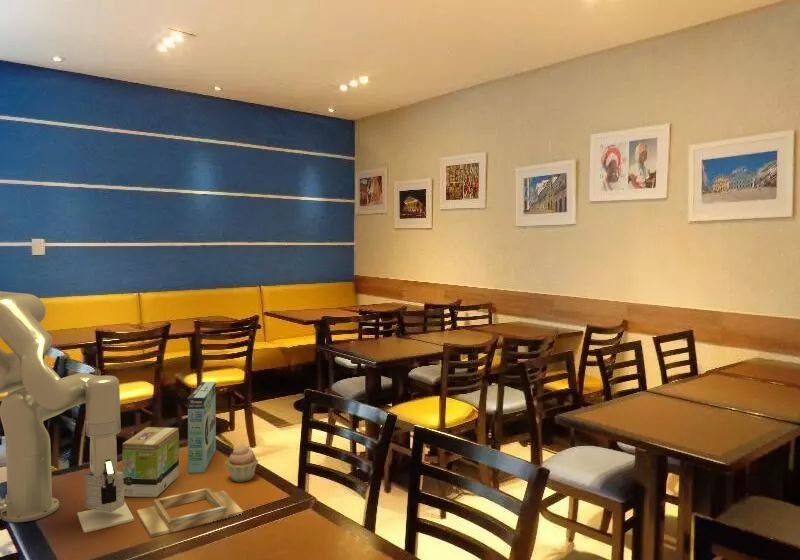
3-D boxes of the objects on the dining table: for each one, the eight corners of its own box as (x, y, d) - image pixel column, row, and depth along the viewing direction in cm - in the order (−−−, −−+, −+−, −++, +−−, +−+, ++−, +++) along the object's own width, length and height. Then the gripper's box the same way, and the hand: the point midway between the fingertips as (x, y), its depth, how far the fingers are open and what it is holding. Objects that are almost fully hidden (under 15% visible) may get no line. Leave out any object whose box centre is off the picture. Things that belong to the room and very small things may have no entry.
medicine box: (124, 505, 150) (124, 471, 149) (111, 513, 146) (110, 478, 145) (99, 501, 152) (98, 467, 152) (85, 508, 148) (84, 474, 147)
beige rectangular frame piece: (151, 538, 139) (151, 525, 139) (137, 513, 152) (136, 501, 152) (243, 514, 152) (243, 502, 152) (223, 493, 164) (223, 482, 164)
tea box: (158, 498, 161) (157, 443, 160) (121, 497, 161) (120, 443, 160) (180, 476, 176) (179, 426, 175) (146, 475, 176) (145, 425, 175)
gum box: (201, 450, 197) (200, 381, 195) (217, 450, 198) (216, 381, 196) (187, 473, 178) (186, 397, 176) (205, 473, 178) (204, 397, 177)
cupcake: (257, 470, 181) (257, 437, 180) (259, 482, 172) (259, 448, 171) (225, 473, 178) (225, 440, 178) (225, 485, 169) (224, 450, 169)
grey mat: (83, 532, 142) (83, 530, 141) (77, 515, 151) (77, 512, 150) (134, 520, 148) (134, 518, 148) (125, 504, 157) (125, 502, 157)
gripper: (81, 420, 153) (83, 487, 154) (92, 439, 138) (94, 512, 140) (113, 416, 157) (115, 480, 158) (127, 433, 143) (129, 504, 144)
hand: (105, 495), depth 149 cm, fingers closed on medicine box, 9 cm apart
